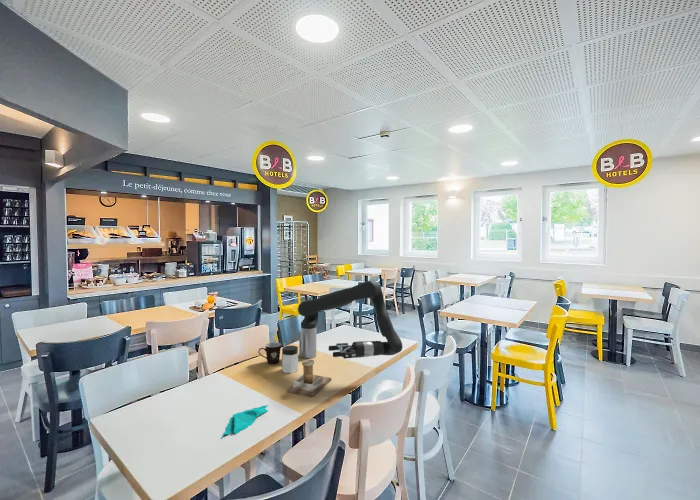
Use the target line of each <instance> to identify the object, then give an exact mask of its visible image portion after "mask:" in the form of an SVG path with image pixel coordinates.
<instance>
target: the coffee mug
mask: <svg viewBox="0 0 700 500" xmlns="http://www.w3.org/2000/svg"><path fill="white" fill-rule="evenodd" d="M264 346H265V348H264V347H261V348H259V349H258V355H260V356H261V357H262V358H264V359H266V363H267V364H268V365H277V364H279V363H280V357H281V351H282V349H281V348H282V343H281V342H268V343H266V344H265V345H264ZM261 350H264V351H265V353H266V354H265V355H266V356H264V355H263V354H261V353H260V351H261Z"/></svg>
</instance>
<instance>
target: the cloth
mask: <svg viewBox="0 0 700 500" xmlns="http://www.w3.org/2000/svg"><path fill="white" fill-rule="evenodd" d="M268 406H269V404H266V405H261V406H259V407H258V406H257V407H253V408H251V409H246V410H244V411H241V412H236V413H234V414H232V416H231V417H230V419H229V420H228V423H227V425H226V426H225V430H224V432H223V434H222V436H221V439H223V437H225V435H231V434H233V433H234V434H236V435H237V434H240V431H241V432H242V431H244V430H246V429H248V428H249V427H250V426H253V424H254V422H255V421H256V418H258V417H259V416H261V415H262V414H264V413H267V412H268V411H269V410H268V409H267V407H268Z"/></svg>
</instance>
